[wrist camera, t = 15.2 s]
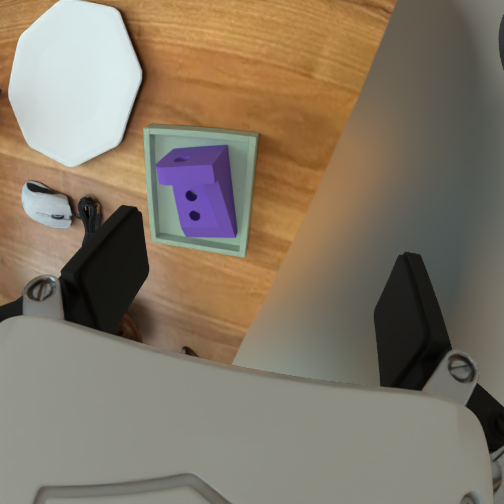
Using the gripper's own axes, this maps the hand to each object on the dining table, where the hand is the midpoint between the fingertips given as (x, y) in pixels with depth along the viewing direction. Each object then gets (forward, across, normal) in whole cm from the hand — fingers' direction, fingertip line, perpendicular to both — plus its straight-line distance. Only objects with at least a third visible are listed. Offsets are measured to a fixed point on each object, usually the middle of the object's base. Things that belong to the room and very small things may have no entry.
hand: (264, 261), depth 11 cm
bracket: (+27, +10, +11) cm, 31 cm away
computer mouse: (+27, +36, +17) cm, 48 cm away
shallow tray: (+27, +11, +11) cm, 31 cm away
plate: (+27, +31, -3) cm, 41 cm away
